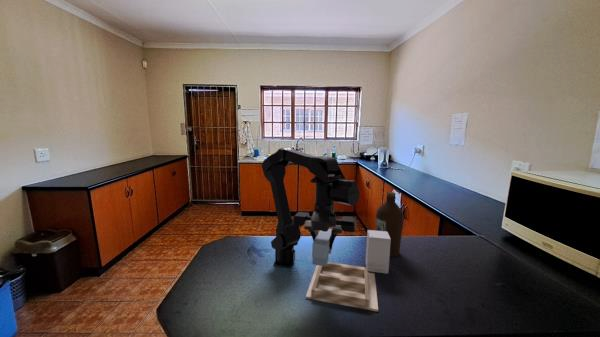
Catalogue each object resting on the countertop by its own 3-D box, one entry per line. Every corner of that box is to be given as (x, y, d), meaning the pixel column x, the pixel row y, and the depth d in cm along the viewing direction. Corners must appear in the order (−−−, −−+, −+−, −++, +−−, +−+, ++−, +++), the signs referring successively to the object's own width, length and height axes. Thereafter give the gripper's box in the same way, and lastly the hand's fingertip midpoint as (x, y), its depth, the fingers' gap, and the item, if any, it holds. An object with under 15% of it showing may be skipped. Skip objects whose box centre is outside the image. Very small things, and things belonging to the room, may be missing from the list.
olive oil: (390, 245, 106) (394, 189, 102) (406, 256, 95) (411, 195, 92) (368, 247, 103) (372, 190, 100) (382, 259, 93) (387, 196, 90)
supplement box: (388, 274, 83) (391, 239, 81) (366, 271, 84) (368, 237, 83) (385, 263, 90) (387, 231, 88) (365, 261, 91) (367, 229, 90)
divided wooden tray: (305, 298, 69) (306, 289, 69) (316, 266, 87) (316, 259, 86) (378, 311, 65) (378, 302, 64) (374, 275, 82) (374, 267, 82)
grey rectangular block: (312, 265, 69) (312, 243, 68) (320, 246, 81) (321, 227, 81) (325, 267, 68) (326, 245, 67) (332, 247, 80) (333, 229, 80)
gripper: (286, 202, 67) (286, 255, 69) (354, 209, 62) (352, 265, 64) (298, 194, 78) (297, 240, 80) (356, 199, 73) (354, 247, 75)
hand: (323, 248), depth 75 cm, fingers closed on grey rectangular block, 4 cm apart
